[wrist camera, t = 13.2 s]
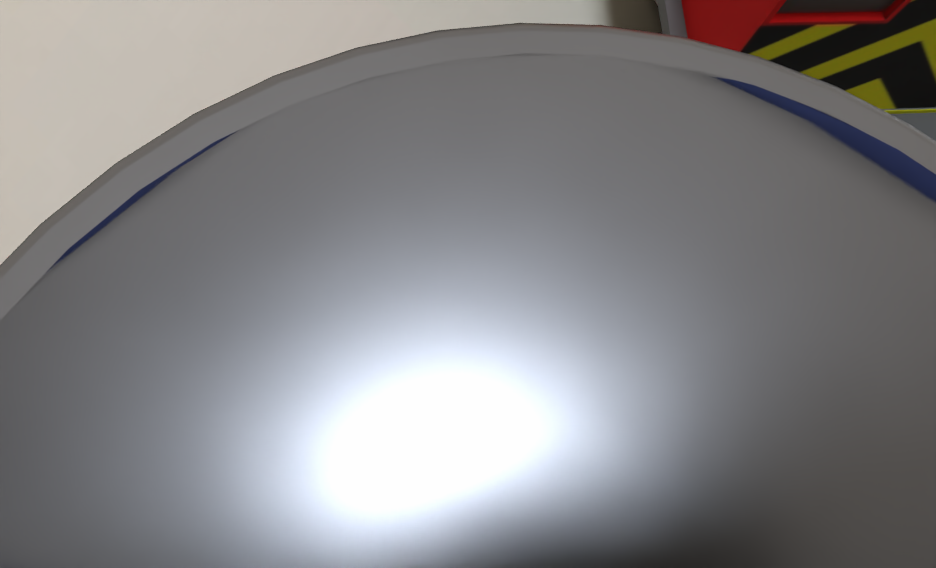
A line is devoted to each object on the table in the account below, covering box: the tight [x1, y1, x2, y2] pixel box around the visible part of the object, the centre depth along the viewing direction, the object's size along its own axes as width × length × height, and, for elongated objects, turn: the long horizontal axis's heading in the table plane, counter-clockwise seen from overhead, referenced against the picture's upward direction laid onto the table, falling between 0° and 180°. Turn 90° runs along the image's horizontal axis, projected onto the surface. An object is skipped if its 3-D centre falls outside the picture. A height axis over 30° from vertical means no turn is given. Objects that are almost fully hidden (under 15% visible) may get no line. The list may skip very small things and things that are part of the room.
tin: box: [0, 23, 936, 568], centre depth 9 cm, size 5×5×14 cm
